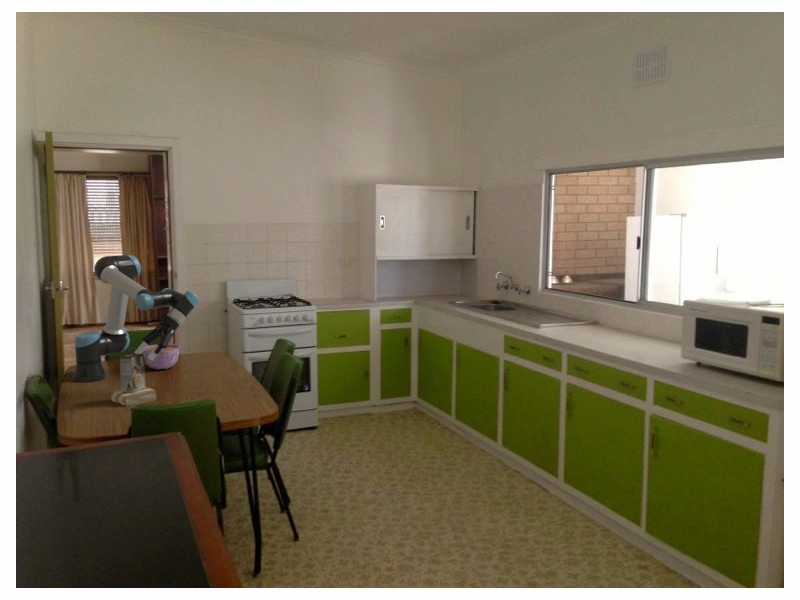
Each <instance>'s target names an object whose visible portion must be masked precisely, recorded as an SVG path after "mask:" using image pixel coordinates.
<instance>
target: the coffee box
mask: <svg viewBox="0 0 800 600" xmlns="http://www.w3.org/2000/svg"><path fill="white" fill-rule="evenodd" d="M118 358H119V359H118V360H119V370H120V372H119V373H120V384H121V385H120V386H121V387H120V389H122V392H128V393H134V392H137V391H139V390H141V389H144V388H146V387H147V386H146V373H145V360H144V356H143V353H141V354H136V353H129V354H127V355H126V354H125V355H123V356H119V357H118Z"/></svg>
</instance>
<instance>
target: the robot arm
mask: <svg viewBox="0 0 800 600" xmlns="http://www.w3.org/2000/svg"><path fill="white" fill-rule="evenodd" d="M141 271H142V266H141V263H140V260H139V259H138V258H137V257H136V256H135V255H133V254H122V255H105V256H102V257H101V258H99V259H98V260H97V261H96V262H95V264H94V267H93V272H94V275H95V277H96V278H97V279H98V280H99V281H101V282H102V283H104V284H105V285H110V286H111V290H110V296H109V302H108V308H107V309H108V310H107V317H106V324H105V325H104V326H103V327H102V328H101V332H100V331H94V330H93V331H87V332H83V333H80V334H77V336H76V337H75V339H74V348H75V349H74V350H75V363H76V364H75V368H74V371H73V375H72V380H73V381H74V382H76V383H77V382H78V383H92V382H98V381H102V380H105V379H106V378H107V374H106V373H107V372H106V370H105V368H104V365H103V364H102V357H104V356H110V355H114V354H115V355H116V354H117V355H118V354H120V353H123V352H125V351H126V350H127V349H128V348H129V347H130V342H131V340H130V335H129V333H128V331H127V329H126V328H125V327H124V326H125V321H126V316H127V309H128V302H129V299H131V300H133V301H134V304H135V306H136V307H137V309H139V310H140V311H145V310H146V311H149V310H154V309H161V308H168V307H172V308H171V309H170V310H169V311H168V313H167V314H166V316H165V317H164V318H163V319H162V320H161V324H162V325H161V326H160V325H159V324H157V325H156V326H155V328H153V329H152V330H151V331H150V332H149V333H148V334H146V335H144V337H143V338H142V343H141V344H140V345H139V346H138V347H137V348H136V350H135V351H134V353H133V354H143V353H142V352H143V351H144V350H145V349H146V347H147V346H149V345H150V343H152V342H153V341H155V340H156V339H158V338H160V339H159V341H158V343H157V344H158V346H159V347H158V346H156V347H155V348H154V350H153V351H152V352H151V353H150V354H149V356H148V358H149V359H150V360H152V361H153V359H154V358H155V357H156V356H157V355H158V353H159V352H160V351H161V350H162V349H164V348H165V349H166V348H167V346H168V344H170V342H171V340H172V337H173V335H174V334H175V333H176V331H177V329H178V328H179V327H180V325H181V324H182V323H183V322H185V319H186V318H187V317H188V316H189V315H190V314H191V312H192V311H193V310H194V309H195V308H196V306H197V305H198V303H199V302H200V298H199V297H198V296H197V295H196V294H195V293H194V292H192V291H191V290H186V291H185V292H184V293H181V292H178V291H177V290H175V289H172V288H169V287H167V288H163V289H161V291H156V292H155V291H154V292H152V291H150V290H149V289H147V288H145V287H144V286H143V285H141V284H140V283H138V282H136V281H135V278H138V277H139V276H140V275H141V273H142V272H141Z"/></svg>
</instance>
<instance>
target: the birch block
mask: <svg viewBox="0 0 800 600" xmlns="http://www.w3.org/2000/svg"><path fill="white" fill-rule="evenodd" d="M111 400H112V401H111ZM110 401H111V402H114V401H115V402H114V403H116V402H117V403H116V404H119V403H120V404H119V405H121V404H123V405H122V406H124V405H126V406H127V407H129V406H128V405H131V406H134V405H133V404H136V405H140V404H143V403H144V404H145V403H149V402H153V401H157V391H156V390H155V389H152V388H150V387H147V386H146V388H144V389H141V390H139V391H137V392H134V393H128V392H122V389H121V388H119V389H112V390H110ZM126 406H125V407H126Z"/></svg>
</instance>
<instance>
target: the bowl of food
mask: <svg viewBox="0 0 800 600" xmlns="http://www.w3.org/2000/svg"><path fill="white" fill-rule="evenodd" d="M158 344H159V343H157V344H149V345H148V346H147V347H146V349H145V350H144V351H143V352H142V353H141V354H143V356H144V364H146V365H147V366H148V367H149V368H151V369H153V370H155V369H156V370H155V371H157V370H158V369H159V370H158V371H161V370H160V369H165V370H169V369H170V368H171V367H173V366H175V364H176V363H177V362H178V358H179V355H180V349H181V345H179V344H175V343H174V344H173V343H169V344H168V346H167V348H166V349H165V348H164V349H162V350H161V351H160V352H159V353H158V355H157V356H156V357H155V358H154V359H153V361H152V360H150V359H149V358H148V356H149V354H150V353H151V352H152V351H153V350H154V348H155V347H156V346H158ZM158 347H159V346H158ZM168 368H169V369H168Z"/></svg>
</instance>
